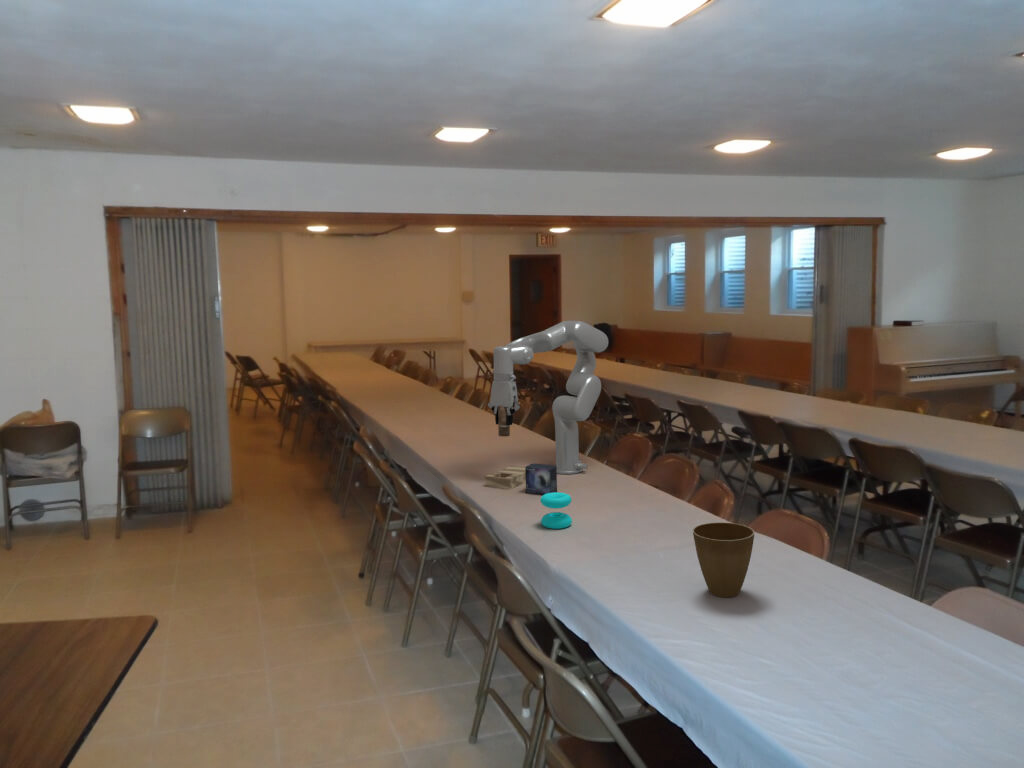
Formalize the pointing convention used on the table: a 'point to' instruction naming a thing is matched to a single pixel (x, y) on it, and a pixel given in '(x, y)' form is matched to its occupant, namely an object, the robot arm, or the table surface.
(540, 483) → the small box
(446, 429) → the table surface
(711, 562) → the plant pot
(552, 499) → the donuts
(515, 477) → the board
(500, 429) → the peg
